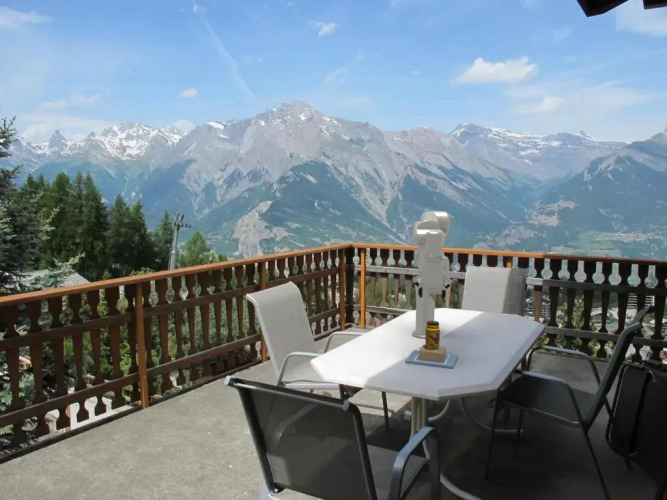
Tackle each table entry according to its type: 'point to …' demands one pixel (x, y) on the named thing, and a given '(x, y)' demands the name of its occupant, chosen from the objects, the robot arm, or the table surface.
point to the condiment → (432, 336)
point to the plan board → (448, 365)
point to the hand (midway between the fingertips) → (431, 297)
